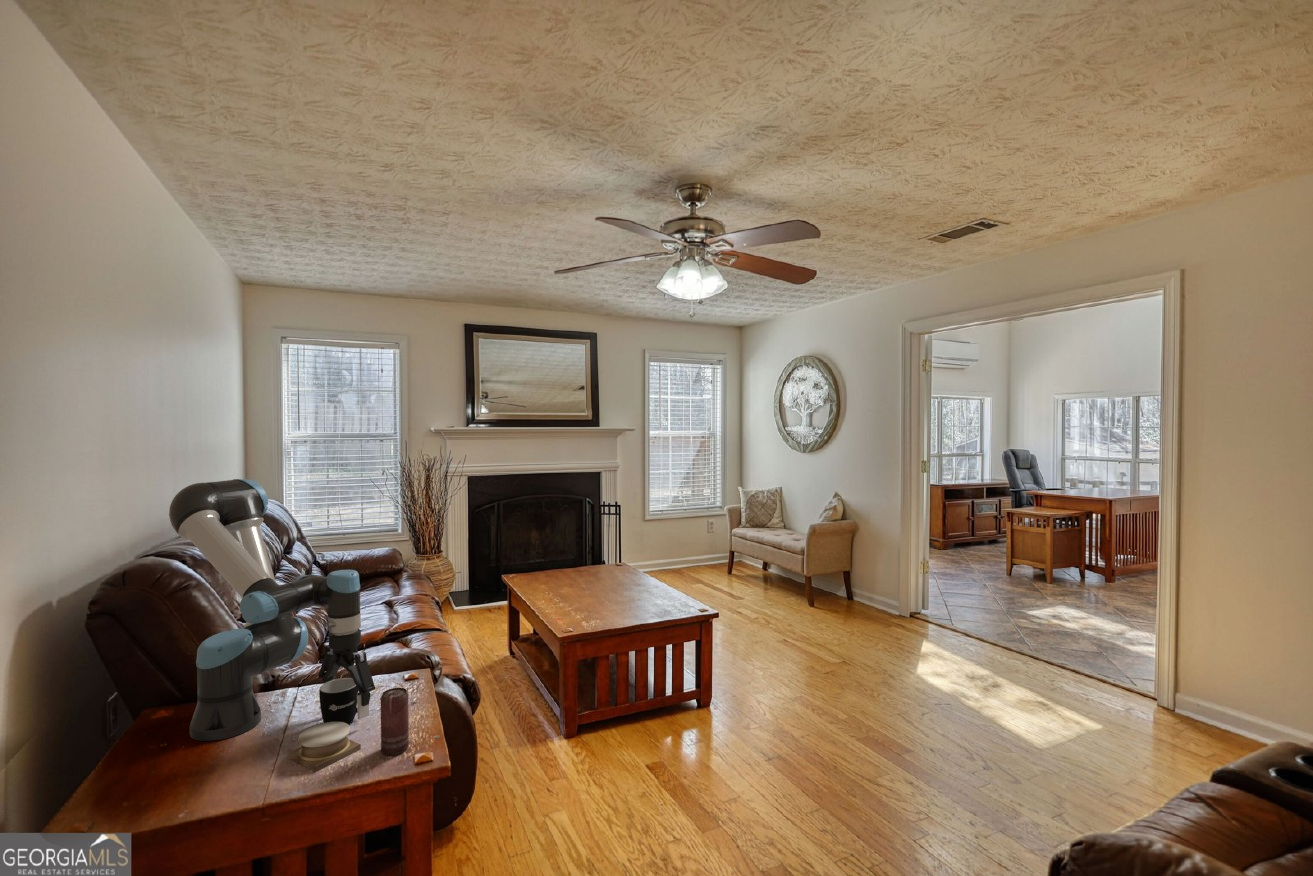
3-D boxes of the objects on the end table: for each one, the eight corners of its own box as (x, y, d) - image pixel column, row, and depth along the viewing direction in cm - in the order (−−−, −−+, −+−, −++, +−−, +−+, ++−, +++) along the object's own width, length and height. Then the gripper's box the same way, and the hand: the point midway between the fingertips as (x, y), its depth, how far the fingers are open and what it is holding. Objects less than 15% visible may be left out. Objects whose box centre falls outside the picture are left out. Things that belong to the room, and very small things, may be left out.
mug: (323, 735, 156) (322, 696, 156) (317, 721, 163) (316, 683, 163) (374, 722, 163) (374, 683, 163) (366, 709, 170) (366, 672, 170)
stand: (288, 758, 146) (287, 737, 146) (332, 737, 155) (332, 717, 155) (316, 771, 140) (315, 749, 140) (360, 749, 150) (360, 728, 150)
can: (379, 758, 146) (378, 699, 145) (383, 744, 152) (382, 688, 151) (406, 755, 147) (406, 696, 147) (410, 741, 153) (409, 685, 153)
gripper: (302, 627, 165) (304, 706, 166) (362, 643, 153) (364, 728, 153) (329, 619, 172) (331, 695, 172) (388, 634, 159) (390, 716, 160)
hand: (346, 711), depth 163 cm, fingers open, 13 cm apart
